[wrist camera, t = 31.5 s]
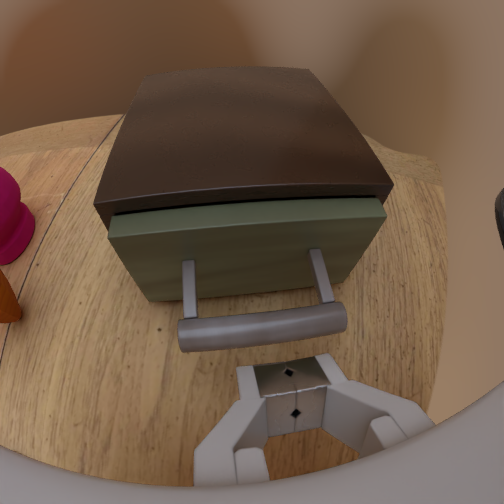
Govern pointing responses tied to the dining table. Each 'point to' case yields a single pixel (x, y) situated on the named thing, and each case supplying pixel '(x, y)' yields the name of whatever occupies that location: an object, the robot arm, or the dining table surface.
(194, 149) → the cabinet
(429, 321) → the dining table surface
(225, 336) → the drawer
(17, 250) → the pepper mill
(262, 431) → the robot arm
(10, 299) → the carrot
